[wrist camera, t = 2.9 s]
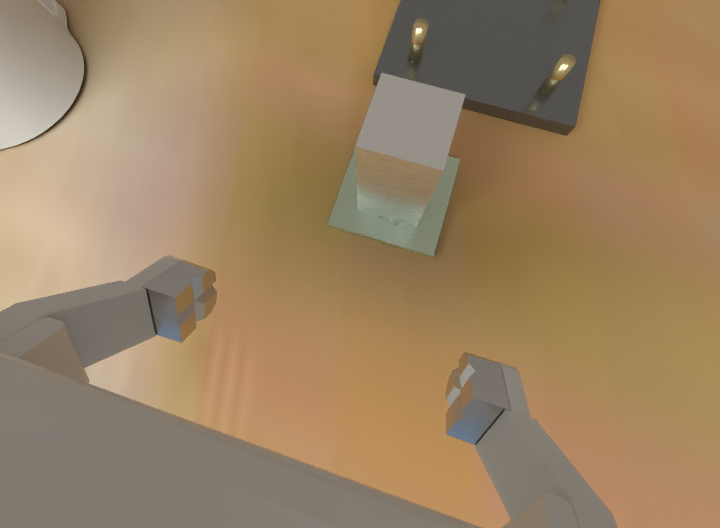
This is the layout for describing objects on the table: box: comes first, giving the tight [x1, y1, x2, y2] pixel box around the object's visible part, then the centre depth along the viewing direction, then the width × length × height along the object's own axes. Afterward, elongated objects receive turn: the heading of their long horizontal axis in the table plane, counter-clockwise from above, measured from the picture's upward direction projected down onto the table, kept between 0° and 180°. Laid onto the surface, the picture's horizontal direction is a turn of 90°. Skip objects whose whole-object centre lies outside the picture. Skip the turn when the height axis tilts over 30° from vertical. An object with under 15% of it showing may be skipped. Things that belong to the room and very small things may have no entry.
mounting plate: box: [374, 0, 600, 135], centre depth 29 cm, size 18×18×4 cm
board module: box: [327, 73, 466, 258], centre depth 22 cm, size 9×9×10 cm
